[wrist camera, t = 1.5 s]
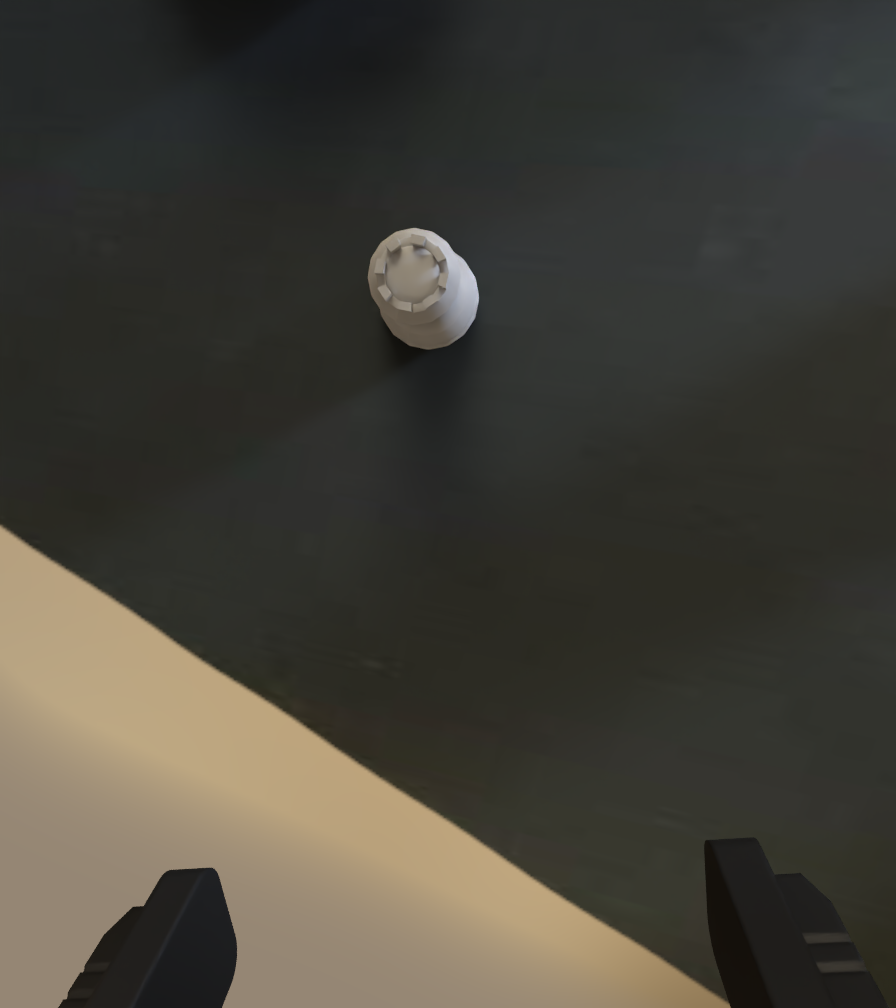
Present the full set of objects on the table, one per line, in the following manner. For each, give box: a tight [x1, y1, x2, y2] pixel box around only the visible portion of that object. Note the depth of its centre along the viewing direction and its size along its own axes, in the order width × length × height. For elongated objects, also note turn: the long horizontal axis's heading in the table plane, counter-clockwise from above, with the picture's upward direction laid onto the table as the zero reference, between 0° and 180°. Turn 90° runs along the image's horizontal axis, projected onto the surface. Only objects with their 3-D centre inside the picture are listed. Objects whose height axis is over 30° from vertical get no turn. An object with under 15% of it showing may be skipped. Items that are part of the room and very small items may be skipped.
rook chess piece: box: [368, 228, 479, 350], centre depth 28 cm, size 4×4×8 cm
